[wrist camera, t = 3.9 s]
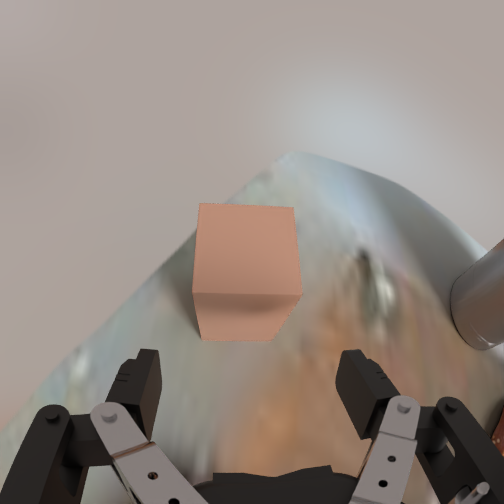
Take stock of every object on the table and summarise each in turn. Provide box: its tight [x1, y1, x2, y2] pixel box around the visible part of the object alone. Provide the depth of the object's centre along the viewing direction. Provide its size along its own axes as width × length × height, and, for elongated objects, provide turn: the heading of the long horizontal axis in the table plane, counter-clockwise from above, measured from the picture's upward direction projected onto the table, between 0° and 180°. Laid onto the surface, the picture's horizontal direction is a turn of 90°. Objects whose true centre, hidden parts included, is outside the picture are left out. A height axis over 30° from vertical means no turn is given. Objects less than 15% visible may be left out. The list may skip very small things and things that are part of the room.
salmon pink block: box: [192, 203, 302, 341], centre depth 21 cm, size 6×6×10 cm
